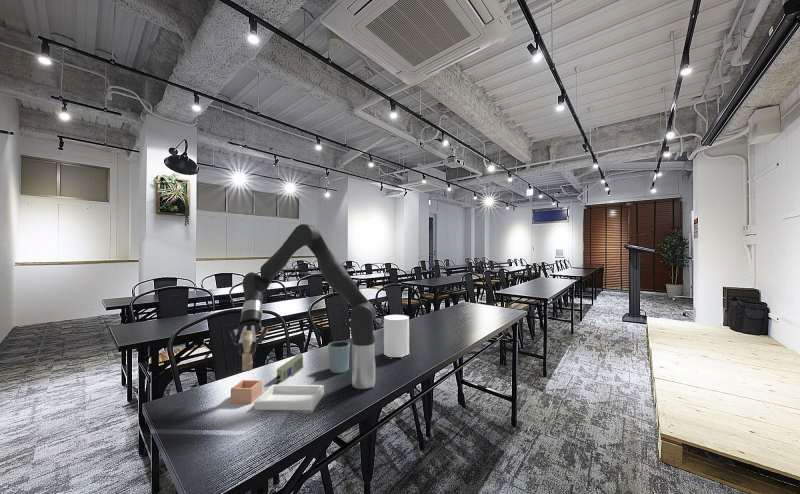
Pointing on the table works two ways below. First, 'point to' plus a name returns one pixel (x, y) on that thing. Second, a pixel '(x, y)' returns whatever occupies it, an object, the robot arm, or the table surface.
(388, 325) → the canister
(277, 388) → the tray
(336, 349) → the teal cup
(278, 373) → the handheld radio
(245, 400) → the pot
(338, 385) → the table surface
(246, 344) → the dowel pin
